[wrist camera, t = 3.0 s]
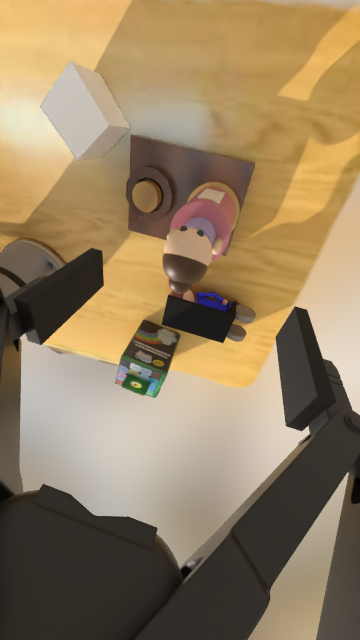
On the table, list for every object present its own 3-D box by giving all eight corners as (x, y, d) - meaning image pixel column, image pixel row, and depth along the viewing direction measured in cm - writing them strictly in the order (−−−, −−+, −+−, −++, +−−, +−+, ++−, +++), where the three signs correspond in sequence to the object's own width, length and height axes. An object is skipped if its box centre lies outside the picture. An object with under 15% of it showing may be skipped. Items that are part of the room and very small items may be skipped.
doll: (229, 244, 32) (214, 313, 19) (182, 232, 33) (135, 290, 20) (247, 189, 28) (242, 229, 15) (191, 175, 28) (140, 203, 15)
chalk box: (135, 345, 56) (105, 396, 44) (142, 318, 50) (110, 370, 38) (170, 359, 56) (149, 415, 44) (182, 334, 50) (161, 391, 38)
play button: (136, 206, 33) (131, 208, 31) (137, 177, 30) (132, 178, 29) (160, 212, 32) (156, 215, 31) (163, 183, 30) (159, 185, 29)
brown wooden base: (133, 226, 38) (123, 233, 35) (136, 135, 30) (125, 134, 28) (226, 251, 37) (224, 260, 34) (255, 162, 29) (255, 164, 26)
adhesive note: (131, 128, 30) (109, 125, 25) (101, 158, 33) (77, 160, 28) (100, 73, 28) (69, 60, 23) (71, 111, 31) (39, 106, 26)
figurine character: (254, 294, 41) (173, 275, 41) (260, 321, 36) (166, 298, 35) (241, 322, 46) (168, 304, 45) (244, 349, 40) (160, 329, 40)
